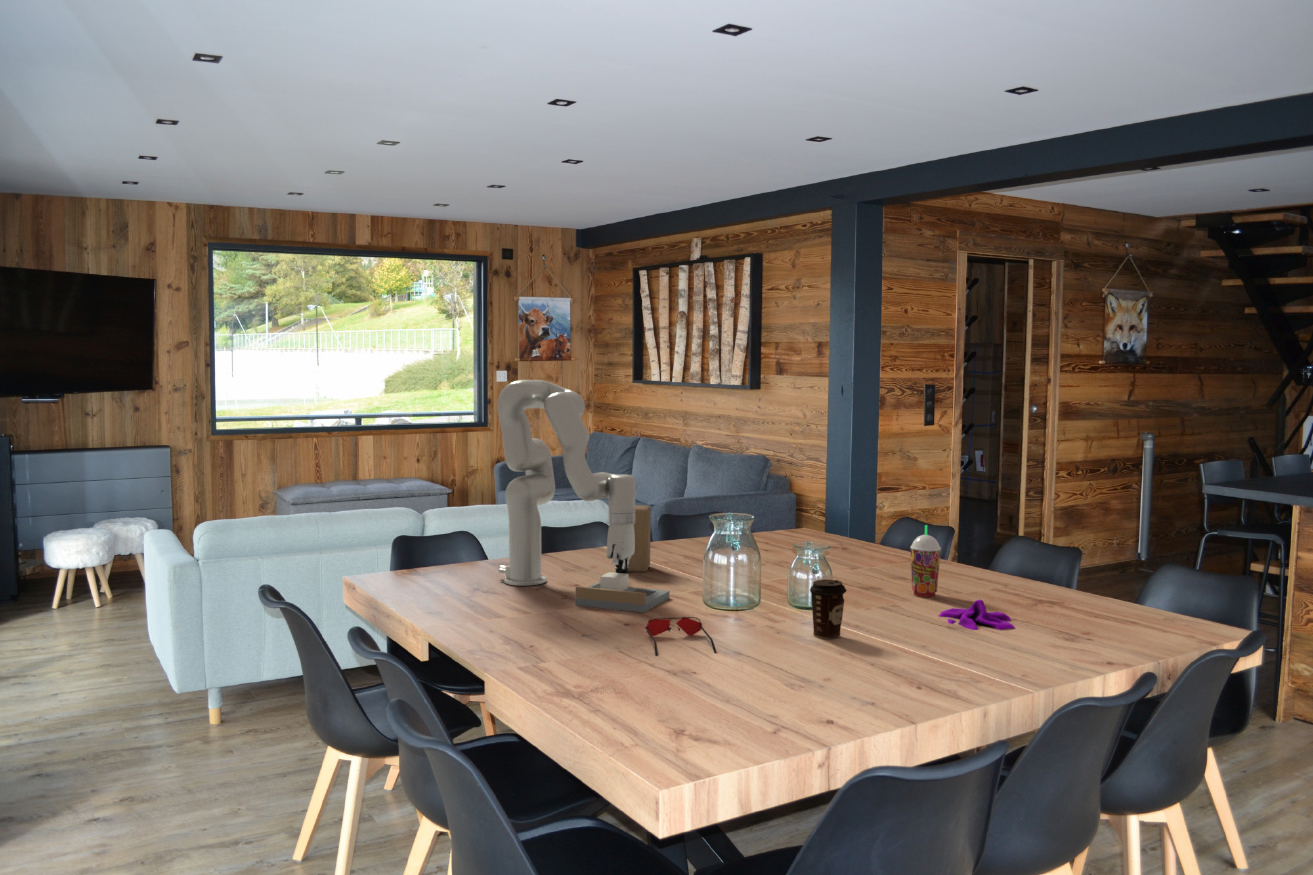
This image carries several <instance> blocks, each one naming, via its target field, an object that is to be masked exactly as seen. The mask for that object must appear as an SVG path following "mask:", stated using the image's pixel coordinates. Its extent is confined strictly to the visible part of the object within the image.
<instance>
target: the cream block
mask: <svg viewBox="0 0 1313 875" xmlns="http://www.w3.org/2000/svg"><path fill="white" fill-rule="evenodd" d="M629 576H630V575H629V573H628V574H624V573H616V572H613V571H612V572H609V571H608V572H606V573H604V574H602V575H601V576H599V577H600V579H599V580H600V581H599V582H600V588H601V589H611V590H621V591H624V590H626V589H627V588H628V587H629V582H630V581H629V579H630V578H629Z"/></svg>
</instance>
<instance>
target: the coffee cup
mask: <svg viewBox="0 0 1313 875" xmlns="http://www.w3.org/2000/svg"><path fill="white" fill-rule="evenodd" d="M809 591H810V593H811V607H812V609H811V610H812V623H813V624H812V626H813V634H812V635H813V637H816V638H819V639H828V640H829V639H836V638H840V636H841V628H842V623H843V614H844V606H845V598H844V594H846V592H847V589H846V587H845V585H843V582H842V581H840V580H838V579H834V580H833V579H818V580H815V581H813V584H812V586H811V587H810V589H809Z"/></svg>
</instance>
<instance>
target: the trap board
mask: <svg viewBox="0 0 1313 875" xmlns="http://www.w3.org/2000/svg"><path fill="white" fill-rule="evenodd" d="M668 599H670V590H664V589H655V588H643V587H636V586H634V587H633V586H632V587H631V586H628V588H627V589H626V590H624V591H621V590H611V589H601V588H600V581H597V582H595V583H594V584H591V585H588V586H579V585H577V586H575V606H577V607H578V606H579V607H586V608H587V607H588V608H589V607H590V608H599V609H608V610H614V611H615V610H616V611H617V610H618V611H626V612H634V613H635V612H636V613H647V612H648V611H649V610H651V609H653V608H654V607H656V606H658V605H660V604H661V603H663V602H665V601H667V600H668Z"/></svg>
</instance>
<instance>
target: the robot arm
mask: <svg viewBox="0 0 1313 875" xmlns="http://www.w3.org/2000/svg"><path fill="white" fill-rule="evenodd" d="M584 400H585V399H584V398H583V397H582V396H581V395H580V394H579V393H578V392H576V391H574V390H572V389H568V388H565V387H562V386H561V385H558V384H555V383H553V382H550V381H547V380H543V379H518V380H515V381H512V382H510V383H508V384H507V385H505V387H504V388H502V390H501V392H500V393H499V396H498V398H497V405H496V406H497V415H498V419H499V423H500V429H501V436H502V444H503V451H504V459H505V464H506V466H507V467H508V468H509V469H510V470H511V471H513V472H516V473H517V472H518V473H519V472H520V473H521V472H525V475H522V476H518V477H515V478H514V479H512V480H511V481H510V482H509V483H508V484H507V486H506V488H505V502H506V507H507V514H508V515H507V517H508V561H509V562H508V565H507V566H506V565H500V566H499V567H498V573H499V574H505V576H504V578H503V582H504V584H506V585H509V586H521V587H523V586H524V587H525V586H527V587H528V586H537V585H542V584H545V583H546V582H547V576H546V575H543V574H542V521H541V515H540V511H539V508H538V506H542V505H546V504H547V503H549V502H551V500H552V499H553V498H554V495H555V494H556V493H555V492H556V482H555V474H554V468H553V466H554V465H553V460H552V454H551V451H550V448H549V446H548V445H547V443H546V442H544V440H542V439H540V438H536V437H532V431H531V430H532V429H531V423H530V421H529V418H528V417H527V415H526V412H525V410H528V409H541V410H544V412H545V415H546V417H547V418H548V422H549V423H550V425H551V427H552V429H553V431H554V434H555V435H556V437H557V439H558V442H559V443H560V446H561V447H562V451H563V452H562V453H563V454H562V460H563V467H564V472H565V475H566V478H567V479H568V482H569V484H570V486H571V489H572V490H573V491H574V493H575V494H576V496H577V497H578V498H579V499H580V500H582V501H585V502H594V501H598V500H603V499H608V529H607V538H606V539H607V541H606V542H607V543H606V559H608V560H611V559H612V563H611V564H612V565H614V569H615V573H624V574H629V572H628V567H629V560H630V559H631V556H632V555H633V554H634V551H635V534H634V524H635V505H636V479H635V477H634V476H633V475H632V474H622V473H621V474H620V473H619V474H614V473H609V472H605V471H602V472H595V473H592V471H591V469H590V466H589V464H588V461H587V460H586V459H587V458H586V447H587V445H588V444H589V441H590V434H589V431H588V430H587V428H586V425H585V424H584V421H583V420H582V416H583V414H584V413H585V410H586V403H585V401H584ZM618 557H619V558H618Z"/></svg>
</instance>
